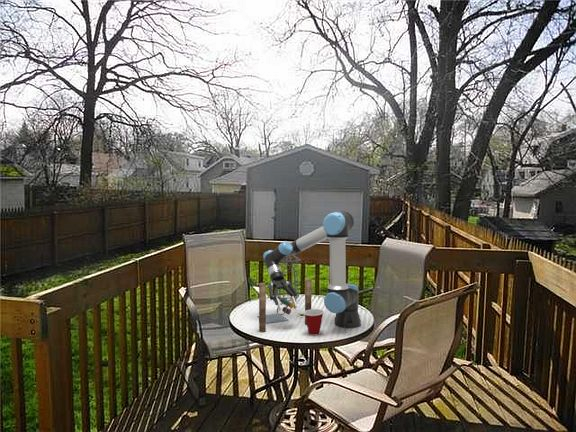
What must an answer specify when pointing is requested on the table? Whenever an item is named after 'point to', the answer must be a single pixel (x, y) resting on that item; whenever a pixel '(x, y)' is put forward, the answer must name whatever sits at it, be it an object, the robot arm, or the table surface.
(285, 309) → the binoculars
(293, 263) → the geometric lantern
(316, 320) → the plastic cup
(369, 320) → the table surface
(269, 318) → the grey mat
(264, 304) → the post gap
